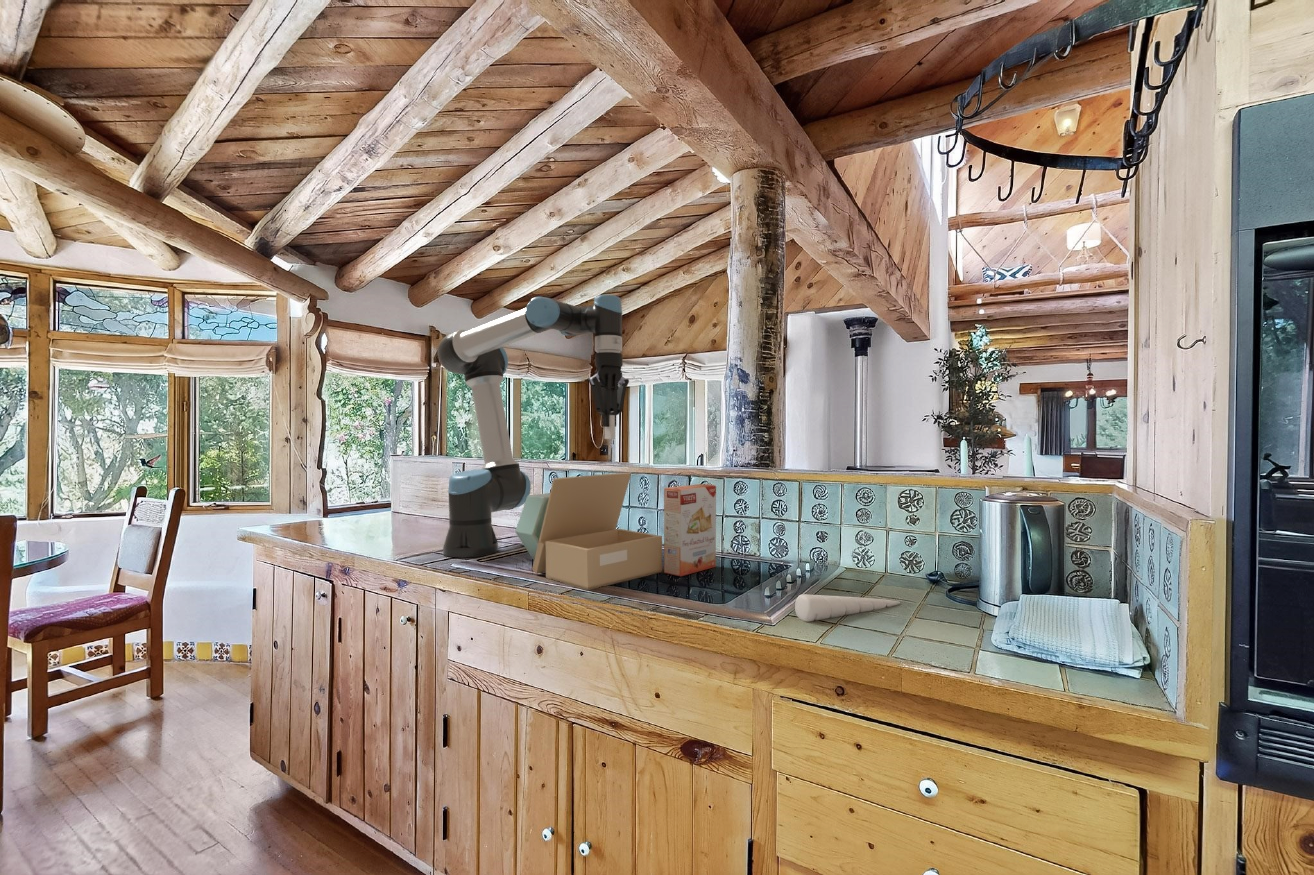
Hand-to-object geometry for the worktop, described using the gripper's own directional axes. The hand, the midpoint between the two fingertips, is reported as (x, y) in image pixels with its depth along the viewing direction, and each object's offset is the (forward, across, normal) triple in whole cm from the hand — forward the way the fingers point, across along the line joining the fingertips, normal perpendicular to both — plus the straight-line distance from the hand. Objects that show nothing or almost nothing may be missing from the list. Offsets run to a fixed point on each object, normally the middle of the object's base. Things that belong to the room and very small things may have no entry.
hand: (609, 438), depth 165 cm
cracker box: (+33, +3, -27) cm, 42 cm away
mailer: (+32, -14, -15) cm, 39 cm away
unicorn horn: (+33, -1, -71) cm, 78 cm away
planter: (+33, -12, +10) cm, 36 cm away
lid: (+21, -15, -8) cm, 27 cm away
